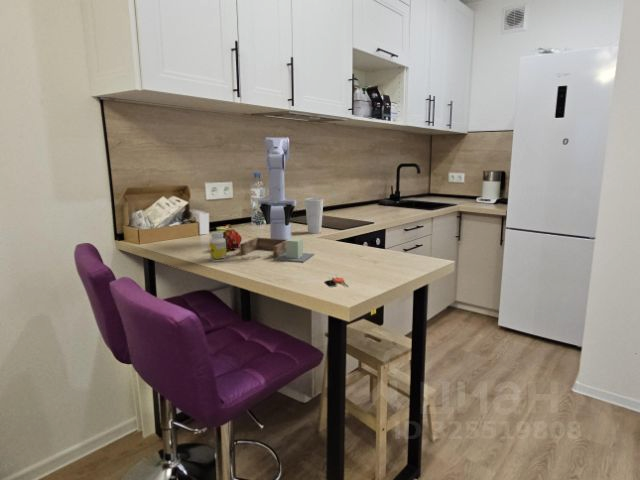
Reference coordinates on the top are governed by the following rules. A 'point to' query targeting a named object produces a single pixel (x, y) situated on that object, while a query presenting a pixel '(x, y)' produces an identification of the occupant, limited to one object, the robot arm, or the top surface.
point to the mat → (300, 259)
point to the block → (294, 248)
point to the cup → (314, 214)
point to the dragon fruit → (232, 239)
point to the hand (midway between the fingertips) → (277, 224)
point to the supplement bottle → (218, 247)
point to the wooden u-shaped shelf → (264, 245)
